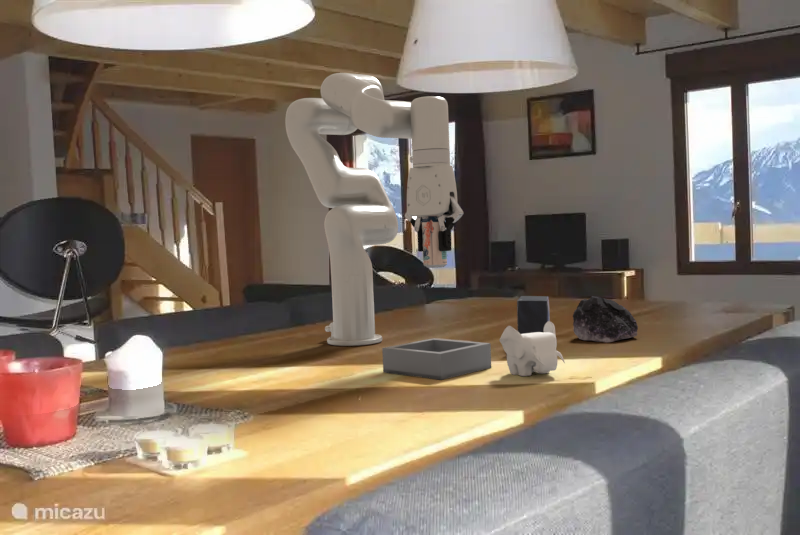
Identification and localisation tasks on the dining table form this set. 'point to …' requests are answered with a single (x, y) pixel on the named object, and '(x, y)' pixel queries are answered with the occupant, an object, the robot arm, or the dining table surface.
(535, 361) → the elephant figurine
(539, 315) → the small box
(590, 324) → the crystal cluster
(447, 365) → the tray
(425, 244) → the beer can
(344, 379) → the dining table surface
